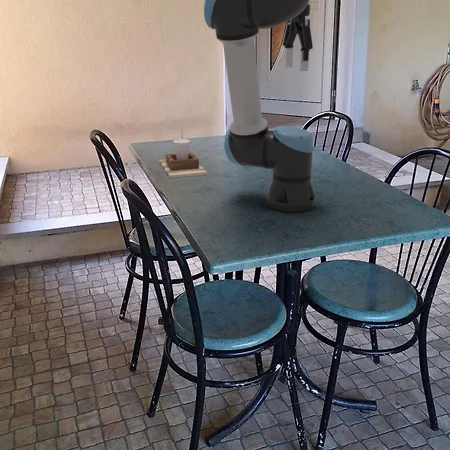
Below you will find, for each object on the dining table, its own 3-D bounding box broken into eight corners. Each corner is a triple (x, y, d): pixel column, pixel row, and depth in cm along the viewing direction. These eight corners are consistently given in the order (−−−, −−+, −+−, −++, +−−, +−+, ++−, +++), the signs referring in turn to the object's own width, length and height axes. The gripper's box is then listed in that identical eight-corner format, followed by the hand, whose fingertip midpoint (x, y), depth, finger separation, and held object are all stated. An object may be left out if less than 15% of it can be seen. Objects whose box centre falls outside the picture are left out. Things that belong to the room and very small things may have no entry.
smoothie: (192, 164, 204) (191, 127, 198) (189, 168, 198) (188, 131, 192) (175, 163, 204) (174, 127, 199) (172, 168, 198) (171, 131, 193)
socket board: (207, 174, 194) (207, 162, 192) (169, 178, 190) (169, 165, 188) (193, 159, 213) (193, 148, 211) (159, 162, 210) (158, 151, 208)
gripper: (325, 2, 167) (321, 72, 175) (294, 3, 189) (292, 65, 197) (303, 2, 165) (300, 73, 173) (275, 3, 187) (273, 66, 195)
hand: (295, 69), depth 185 cm, fingers open, 13 cm apart
